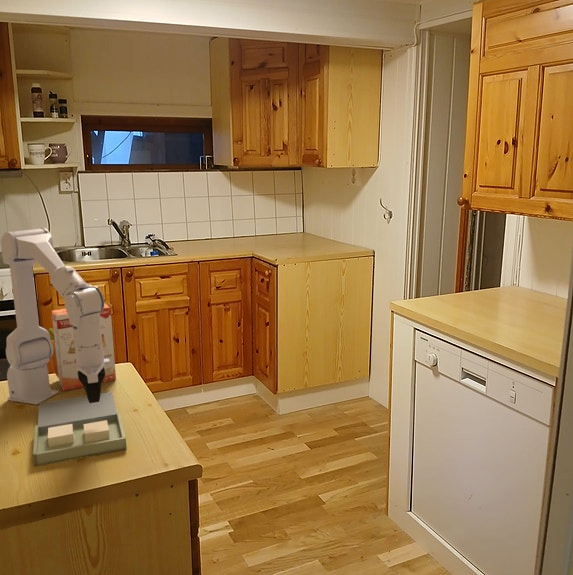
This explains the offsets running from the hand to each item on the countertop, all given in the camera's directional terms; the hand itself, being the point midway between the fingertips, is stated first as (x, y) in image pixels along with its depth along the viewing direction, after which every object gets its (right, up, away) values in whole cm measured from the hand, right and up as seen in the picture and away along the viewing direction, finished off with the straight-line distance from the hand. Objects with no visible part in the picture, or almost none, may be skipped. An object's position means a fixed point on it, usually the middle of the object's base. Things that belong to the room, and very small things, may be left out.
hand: (94, 401), depth 131 cm
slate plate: (-7, -5, +9) cm, 12 cm away
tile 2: (+1, -7, -1) cm, 7 cm away
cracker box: (-11, -1, +29) cm, 31 cm away
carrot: (-19, 0, +31) cm, 36 cm away
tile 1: (-6, -8, -3) cm, 10 cm away
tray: (-2, -8, -3) cm, 9 cm away
